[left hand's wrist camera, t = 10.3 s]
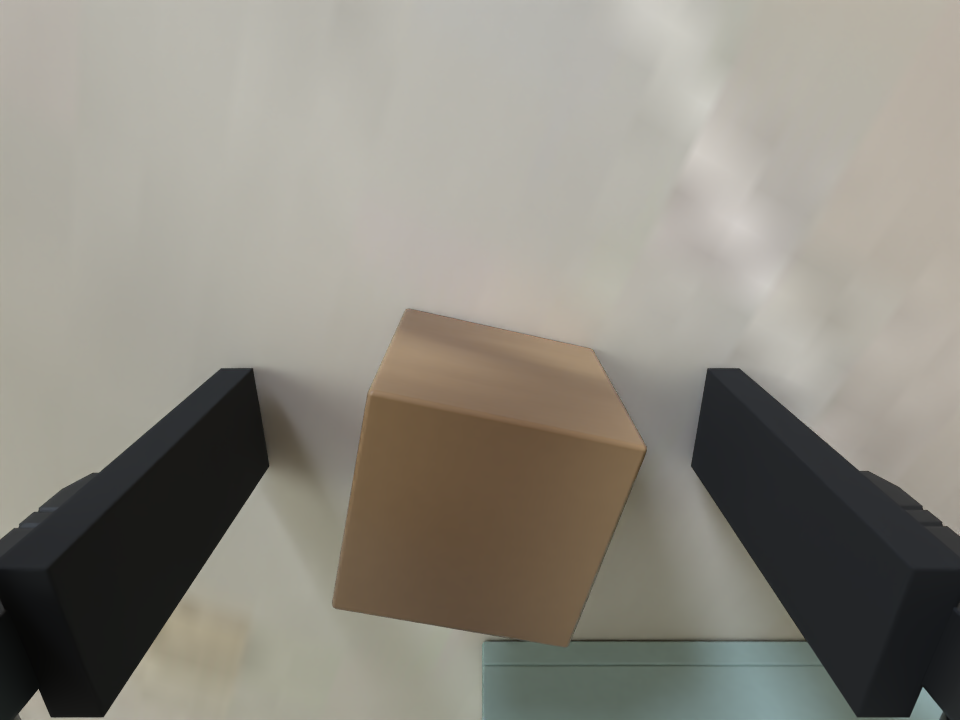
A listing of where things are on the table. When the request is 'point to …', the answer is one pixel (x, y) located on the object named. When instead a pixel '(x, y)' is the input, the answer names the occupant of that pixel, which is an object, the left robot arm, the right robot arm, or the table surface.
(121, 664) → the left robot arm
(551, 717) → the chest
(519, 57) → the table surface
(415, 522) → the block
